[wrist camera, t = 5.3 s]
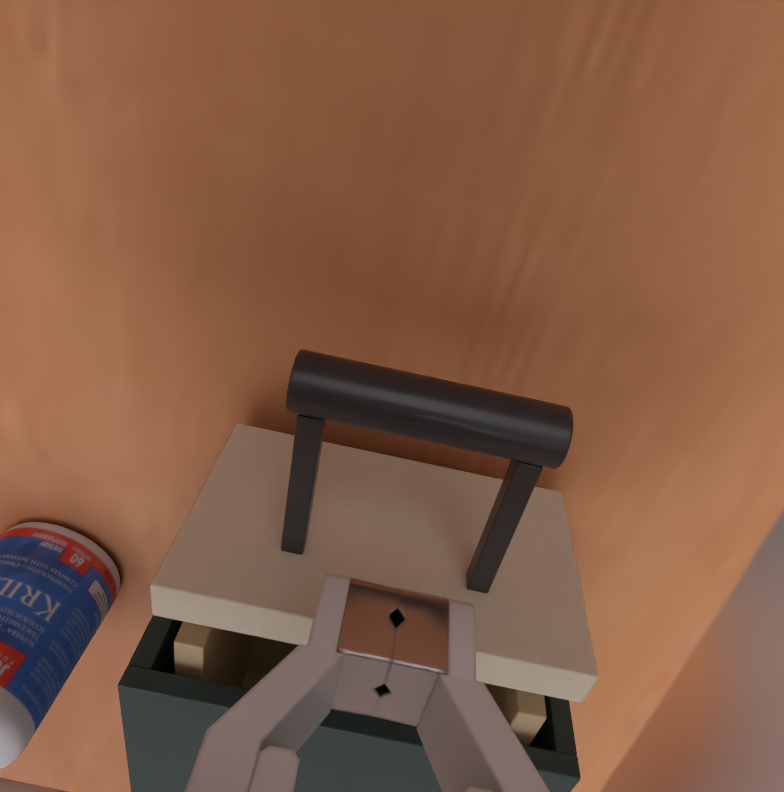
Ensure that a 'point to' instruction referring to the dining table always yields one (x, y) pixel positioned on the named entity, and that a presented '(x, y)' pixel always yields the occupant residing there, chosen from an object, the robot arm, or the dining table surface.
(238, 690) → the cabinet
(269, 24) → the dining table surface
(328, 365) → the drawer
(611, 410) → the dining table surface
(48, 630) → the pill bottle
